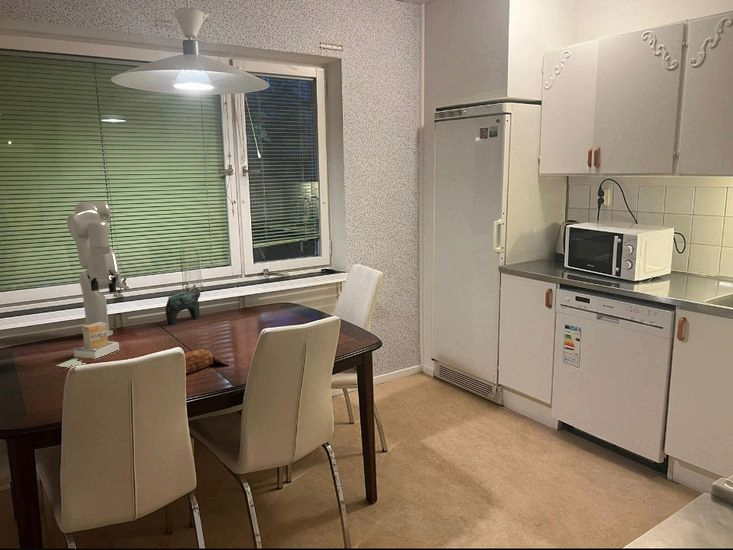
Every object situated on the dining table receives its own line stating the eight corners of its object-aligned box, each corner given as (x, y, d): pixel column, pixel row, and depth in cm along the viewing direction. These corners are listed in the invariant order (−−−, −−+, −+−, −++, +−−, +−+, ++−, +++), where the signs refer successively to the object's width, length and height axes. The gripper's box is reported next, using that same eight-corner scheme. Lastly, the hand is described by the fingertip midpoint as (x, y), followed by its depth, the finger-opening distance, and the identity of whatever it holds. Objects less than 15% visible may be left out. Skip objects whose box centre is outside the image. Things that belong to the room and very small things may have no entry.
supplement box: (91, 357, 233) (88, 327, 230) (84, 355, 235) (81, 325, 233) (109, 352, 240) (106, 322, 237) (102, 350, 242) (99, 321, 240)
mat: (55, 367, 222) (55, 365, 222) (75, 359, 231) (74, 357, 231) (75, 369, 219) (75, 368, 219) (94, 361, 228) (94, 360, 228)
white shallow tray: (74, 358, 232) (73, 347, 232) (98, 348, 245) (97, 338, 245) (95, 360, 229) (94, 349, 229) (119, 350, 242) (118, 340, 242)
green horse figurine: (197, 316, 299) (194, 279, 295) (204, 318, 295) (202, 281, 291) (164, 324, 283) (161, 286, 279) (172, 326, 279) (169, 287, 275)
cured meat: (236, 364, 224) (235, 347, 222) (182, 382, 204) (181, 365, 203) (208, 356, 234) (206, 341, 233) (154, 373, 215) (152, 356, 214)
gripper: (76, 251, 231) (81, 291, 234) (108, 253, 225) (112, 294, 228) (91, 249, 238) (95, 288, 241) (123, 250, 232) (126, 290, 235)
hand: (103, 291), depth 235 cm, fingers open, 9 cm apart
